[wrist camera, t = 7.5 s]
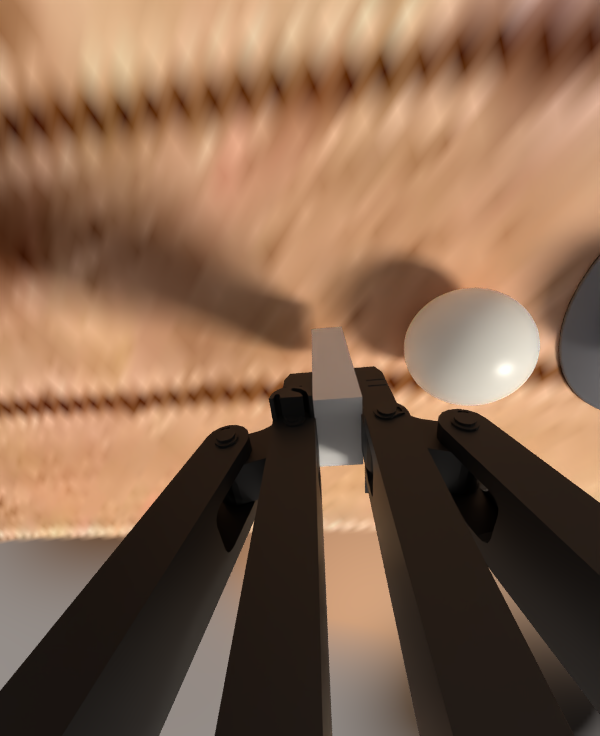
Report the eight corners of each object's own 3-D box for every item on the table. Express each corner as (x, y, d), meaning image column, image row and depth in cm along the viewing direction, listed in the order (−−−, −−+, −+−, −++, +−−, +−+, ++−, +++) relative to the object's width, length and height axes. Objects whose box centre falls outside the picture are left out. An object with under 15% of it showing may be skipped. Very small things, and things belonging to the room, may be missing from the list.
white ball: (600, 371, 11) (506, 330, 16) (537, 266, 10) (453, 256, 15) (477, 451, 13) (425, 391, 18) (404, 372, 11) (369, 330, 16)
